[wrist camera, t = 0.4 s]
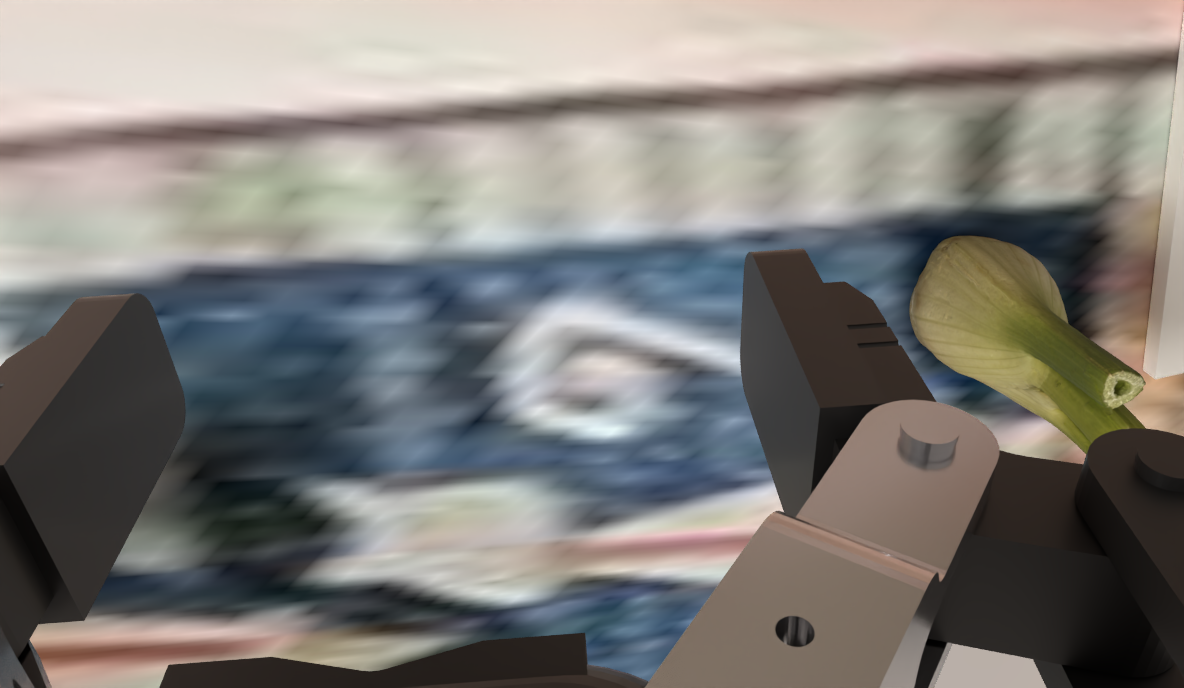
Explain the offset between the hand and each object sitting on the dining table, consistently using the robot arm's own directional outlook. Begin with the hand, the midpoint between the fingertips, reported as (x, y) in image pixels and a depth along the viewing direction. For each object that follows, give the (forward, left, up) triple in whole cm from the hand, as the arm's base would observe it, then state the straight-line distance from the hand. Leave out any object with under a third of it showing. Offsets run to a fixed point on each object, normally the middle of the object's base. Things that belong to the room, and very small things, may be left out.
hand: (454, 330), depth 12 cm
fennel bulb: (+12, +17, -20) cm, 29 cm away
